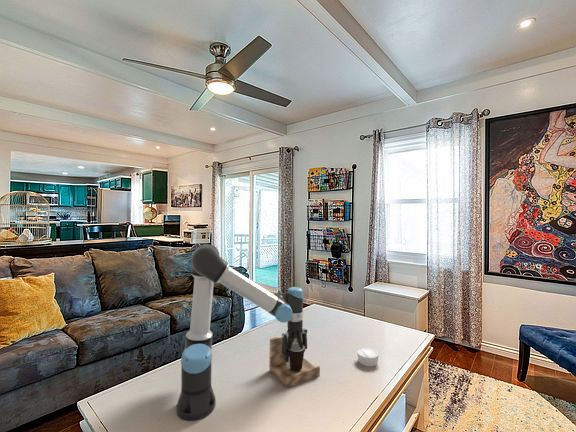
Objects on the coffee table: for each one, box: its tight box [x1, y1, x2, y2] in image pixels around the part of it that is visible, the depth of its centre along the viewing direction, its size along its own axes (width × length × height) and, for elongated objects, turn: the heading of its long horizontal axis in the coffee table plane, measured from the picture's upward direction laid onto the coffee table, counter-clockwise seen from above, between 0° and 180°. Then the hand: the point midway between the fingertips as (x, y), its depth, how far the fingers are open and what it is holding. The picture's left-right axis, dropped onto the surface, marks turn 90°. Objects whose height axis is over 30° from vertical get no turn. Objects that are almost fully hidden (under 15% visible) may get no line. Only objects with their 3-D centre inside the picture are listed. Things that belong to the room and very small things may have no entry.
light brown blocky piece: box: [269, 333, 321, 389], centre depth 141 cm, size 19×16×16 cm
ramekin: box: [356, 347, 380, 368], centre depth 152 cm, size 11×11×5 cm
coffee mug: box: [288, 343, 306, 371], centre depth 141 cm, size 12×9×10 cm
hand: (294, 365), depth 141 cm, fingers closed on coffee mug, 6 cm apart
